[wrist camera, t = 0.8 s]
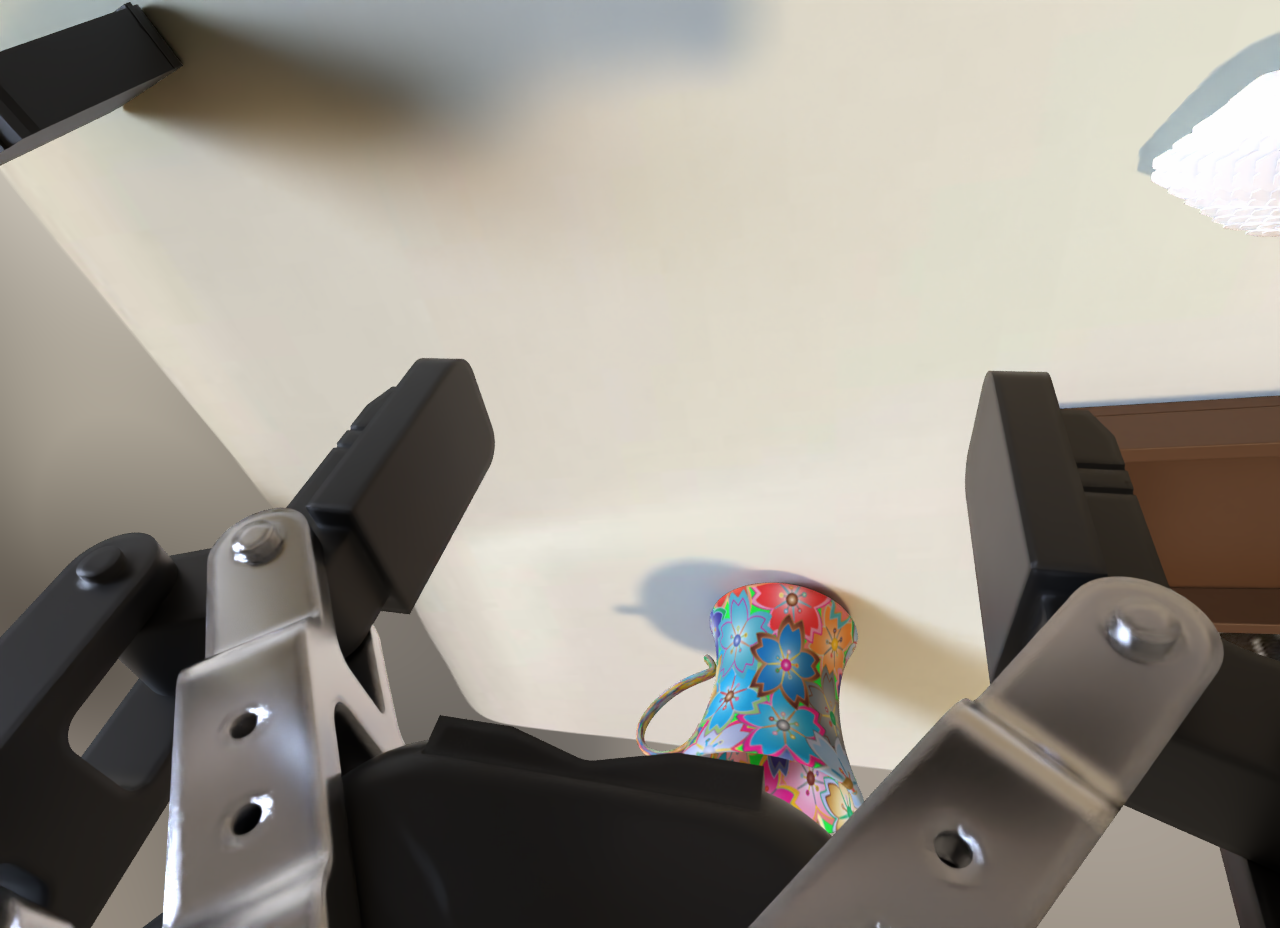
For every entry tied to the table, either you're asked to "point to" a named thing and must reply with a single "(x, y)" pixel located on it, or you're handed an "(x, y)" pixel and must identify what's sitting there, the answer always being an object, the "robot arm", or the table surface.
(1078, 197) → the table surface
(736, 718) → the mug
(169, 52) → the ink cartridge
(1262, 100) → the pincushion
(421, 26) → the table surface
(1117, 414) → the tray
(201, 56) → the table surface
